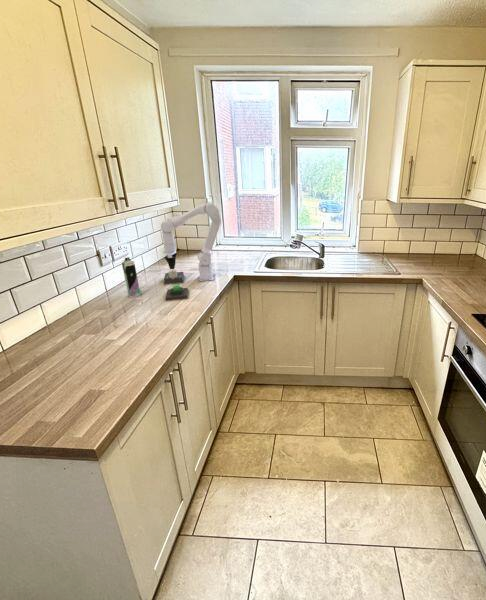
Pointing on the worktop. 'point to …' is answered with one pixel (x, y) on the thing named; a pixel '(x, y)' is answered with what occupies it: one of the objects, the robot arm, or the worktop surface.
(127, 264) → the spray can
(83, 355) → the worktop surface
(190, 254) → the worktop surface
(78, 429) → the worktop surface
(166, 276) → the control panel
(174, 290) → the button
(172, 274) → the dial
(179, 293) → the housing
